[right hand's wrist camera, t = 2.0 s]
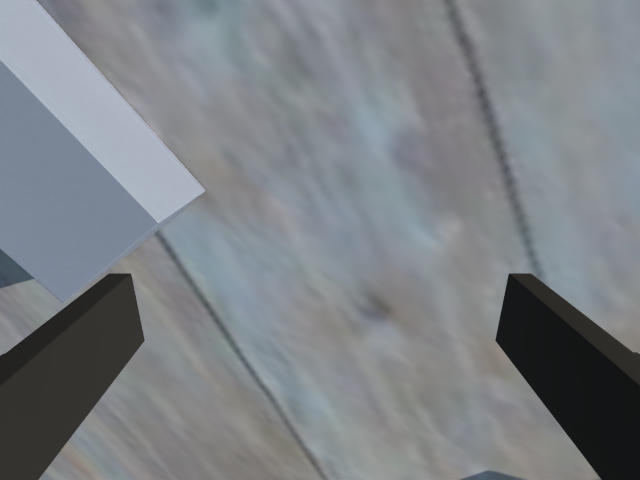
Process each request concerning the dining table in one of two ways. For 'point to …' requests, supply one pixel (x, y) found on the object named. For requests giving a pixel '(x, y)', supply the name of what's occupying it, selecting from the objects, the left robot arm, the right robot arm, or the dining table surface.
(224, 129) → the dining table surface
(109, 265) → the cabinet
